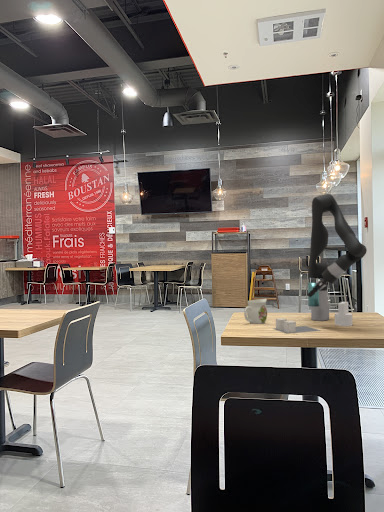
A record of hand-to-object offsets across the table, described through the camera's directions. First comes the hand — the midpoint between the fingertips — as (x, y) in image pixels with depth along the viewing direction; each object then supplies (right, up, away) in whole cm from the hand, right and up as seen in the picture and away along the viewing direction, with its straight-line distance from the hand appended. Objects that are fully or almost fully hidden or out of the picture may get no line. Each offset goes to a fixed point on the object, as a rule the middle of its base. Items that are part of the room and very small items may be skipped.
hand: (310, 295), depth 222 cm
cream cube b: (-17, -16, -10) cm, 25 cm away
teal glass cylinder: (+2, -5, -1) cm, 6 cm away
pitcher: (-27, -18, +10) cm, 34 cm away
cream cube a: (-15, -16, -17) cm, 28 cm away
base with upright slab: (+20, -17, +8) cm, 28 cm away
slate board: (-10, -17, -12) cm, 23 cm away
